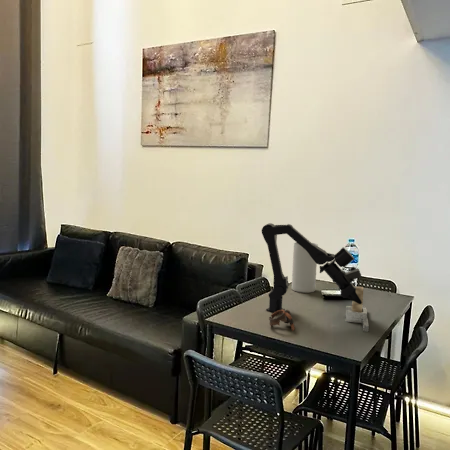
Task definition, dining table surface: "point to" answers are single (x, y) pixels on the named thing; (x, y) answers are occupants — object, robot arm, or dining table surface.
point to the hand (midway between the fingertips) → (361, 301)
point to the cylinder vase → (303, 270)
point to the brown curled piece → (282, 318)
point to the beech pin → (359, 292)
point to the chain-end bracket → (357, 317)
